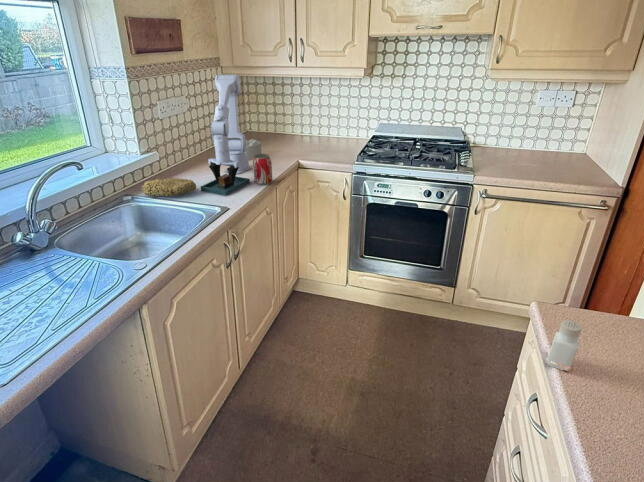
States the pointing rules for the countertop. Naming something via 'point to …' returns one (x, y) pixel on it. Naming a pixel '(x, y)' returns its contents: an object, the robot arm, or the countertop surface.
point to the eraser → (224, 181)
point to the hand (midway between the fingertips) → (225, 181)
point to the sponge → (168, 187)
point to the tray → (238, 184)
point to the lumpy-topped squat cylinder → (253, 148)
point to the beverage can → (262, 169)
